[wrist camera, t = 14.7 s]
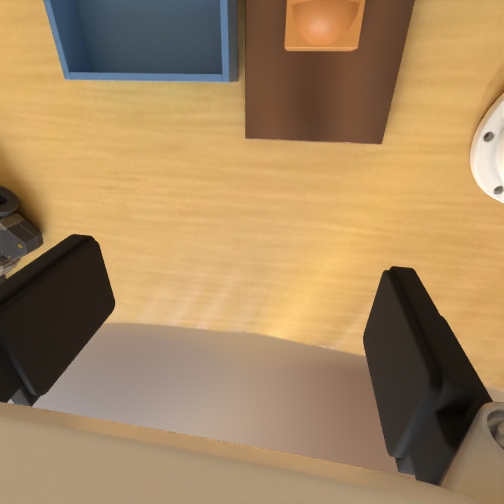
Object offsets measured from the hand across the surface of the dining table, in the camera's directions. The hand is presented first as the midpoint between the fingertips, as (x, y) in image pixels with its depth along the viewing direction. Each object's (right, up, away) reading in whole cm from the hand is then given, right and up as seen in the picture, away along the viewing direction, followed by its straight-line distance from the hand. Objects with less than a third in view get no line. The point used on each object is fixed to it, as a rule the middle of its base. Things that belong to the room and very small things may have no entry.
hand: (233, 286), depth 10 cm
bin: (-8, +23, +16) cm, 29 cm away
